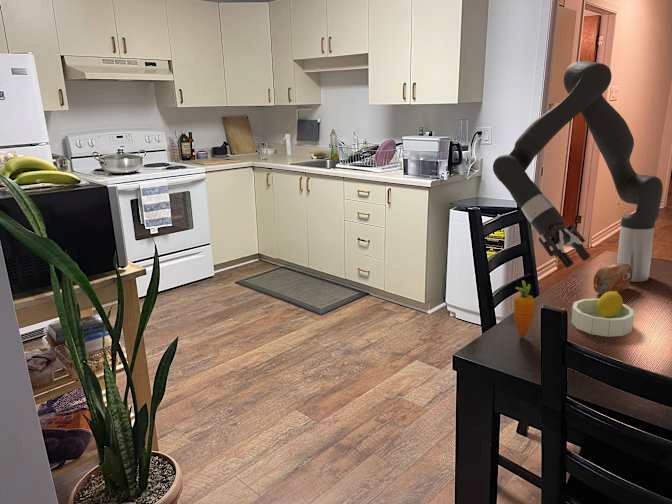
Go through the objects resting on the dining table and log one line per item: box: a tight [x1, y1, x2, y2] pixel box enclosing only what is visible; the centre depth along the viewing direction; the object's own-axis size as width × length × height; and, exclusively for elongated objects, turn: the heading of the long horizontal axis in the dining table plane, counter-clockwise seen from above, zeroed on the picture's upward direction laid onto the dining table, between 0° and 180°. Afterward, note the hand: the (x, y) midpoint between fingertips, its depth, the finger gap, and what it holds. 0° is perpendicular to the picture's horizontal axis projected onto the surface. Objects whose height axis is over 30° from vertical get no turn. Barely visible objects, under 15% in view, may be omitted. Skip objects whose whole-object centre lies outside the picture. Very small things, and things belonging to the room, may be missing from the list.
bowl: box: [570, 298, 635, 338], centre depth 133 cm, size 14×14×4 cm
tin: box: [593, 262, 632, 296], centre depth 154 cm, size 15×3×8 cm, turn 117°
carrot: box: [513, 280, 536, 339], centre depth 126 cm, size 5×5×15 cm
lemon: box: [597, 291, 624, 318], centre depth 133 cm, size 6×6×8 cm
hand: (579, 262), depth 134 cm, fingers open, 8 cm apart
